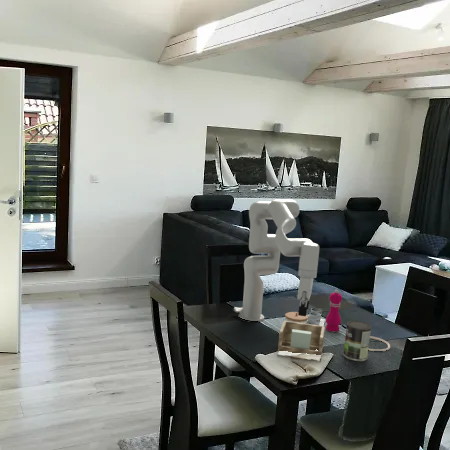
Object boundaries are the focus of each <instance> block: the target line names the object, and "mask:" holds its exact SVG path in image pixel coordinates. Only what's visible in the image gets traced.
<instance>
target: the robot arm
mask: <svg viewBox="0 0 450 450" xmlns="http://www.w3.org/2000/svg"><path fill="white" fill-rule="evenodd" d="M300 209H301V208H300V205H299V204H298V202H297V201H296V200H295V199H284V198H283V199H281V198H280V199H279V198H277V199H273V200H271V201H265V200H263V201H255V202H253V203H251V204H250V206H249V209H248V217H249V223H250V227H249V228H250V229H249V238H248V249H249V252H250V253H252V254H256V255H250V256H248V257H246V258H245V259H244V260H243V261H244V262H243V269H244V284H243V298H242V299H243V300H242V307H236V306H234V308H233V311H234V312H235V313H239V314H238V318H239V317H240V318H242V319H245V320H250V321H258V322H262V321H263V320H265V316H264V314H262V311H263V310H262V308H263V298H264V296H263V295H264V287H265V286H264V282H263V279H262V278H261V276H266V275H267V276H270V275H275V274H277V272H278V271H279V268H280V260H281V259H280V258H281V254H282V255H283V256H285V257H299V262H298V271H297V272H298V273H297V276H298V277H300V278H299V281H298V282H299V283H298V288H297V289H298V290H297V301H299V300H300V301H299V306H298V311H297V312H298V315H299V316H306V315H307V310H308V309H309V306H310V305H309V304H310V299H311V295H312V290H313V283H314V279H316V278H317V273H318V266H319V255H320V245H319V244H318V243H315V242H313V241H312V240H311V239H309V238H299V237H298V238H296V237H295V238H288V237H287V236H286V235H287V234H289V233H290V232H292V231H293V230H294V229H295V228H296V226H297V220H296V219H295V218H297V217H298V216H299V214H300ZM266 220H273V222H274V224H275V226H276V227H277V229H276V231H275V234H274V233H268V229H269V226H268V223H267V221H266ZM257 254H259V255H257ZM260 254H265V255H260ZM266 254H267V255H266ZM240 318H239V319H240ZM242 319H241V320H242ZM245 320H244V321H245ZM250 321H249V322H250Z"/></svg>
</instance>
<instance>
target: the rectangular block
mask: <svg viewBox="0 0 450 450" xmlns="http://www.w3.org/2000/svg"><path fill="white" fill-rule="evenodd" d="M310 342H311V332H309V331H302V330H295V329H292V335H291V346H290V347H294V348H301V349H307V350H310Z"/></svg>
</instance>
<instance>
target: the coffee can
mask: <svg viewBox="0 0 450 450" xmlns="http://www.w3.org/2000/svg"><path fill="white" fill-rule="evenodd" d="M345 325H346V327H345V328H346V329H345V336H344V337H345V338H344V345H343V352H342V355H343V356H344V357H345V358H346V359H347V360H351V361H356V362H364V361H366V360H368V357H369V351H368V348H369V347H370V340H371V339H370V336H371V330H372V325H371V324H369V323H368V322H364V321H362V320H361V321H359V320H349V321H347V322H346V324H345ZM369 349H370V348H369Z"/></svg>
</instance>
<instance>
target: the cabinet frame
mask: <svg viewBox="0 0 450 450" xmlns="http://www.w3.org/2000/svg"><path fill="white" fill-rule="evenodd" d="M292 329H295V330H302V331H309V332H311V342H310V350H307V349H301V348H294V347H290V346H291V335H292ZM325 330H326V325H325V326H323V325H317V324H309V323H307V324H304V323H297V322H290V321H285V320H283V322H282V325H281V327H280V330H279V334H278V344H277V345H278V346H277V352H278V351H288V352H292V353H307V354H316V355H321V354H322V355H323V349H324V339H325V333H326V332H325ZM316 349H317V350H318V351H315V350H316Z"/></svg>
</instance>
